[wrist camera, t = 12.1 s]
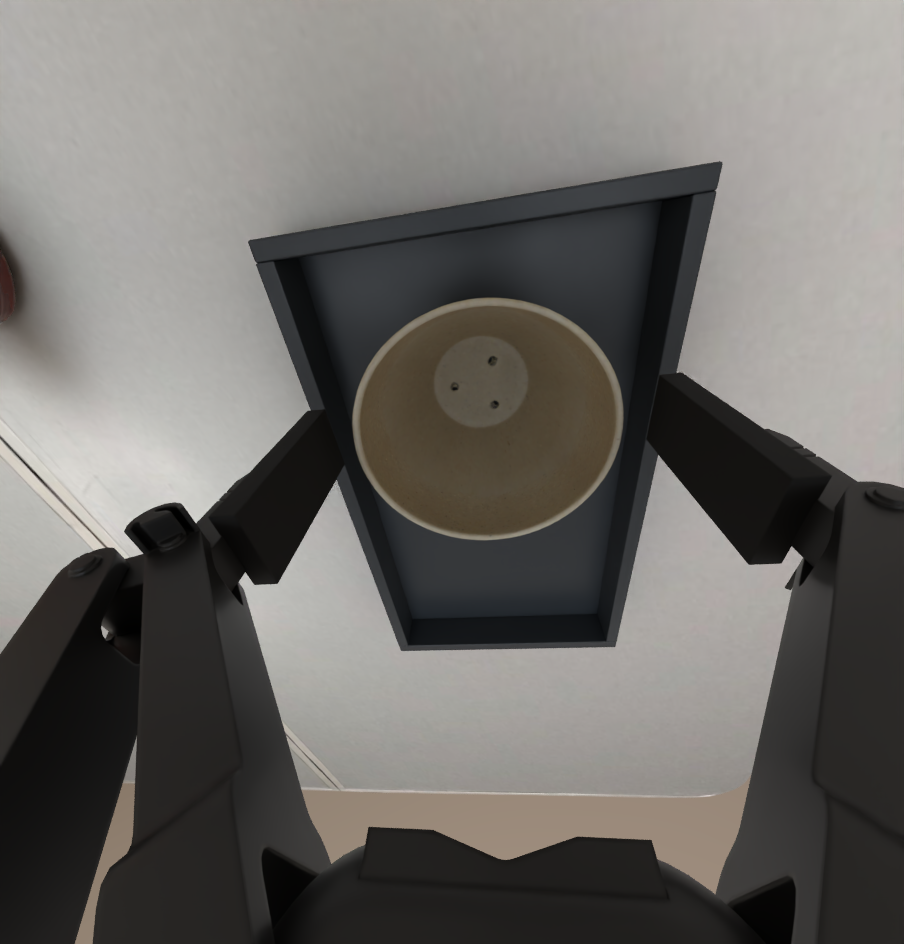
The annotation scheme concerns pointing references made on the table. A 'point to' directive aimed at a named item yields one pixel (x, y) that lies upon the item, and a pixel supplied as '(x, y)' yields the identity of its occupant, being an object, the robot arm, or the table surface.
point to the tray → (496, 276)
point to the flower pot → (488, 419)
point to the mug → (6, 290)
